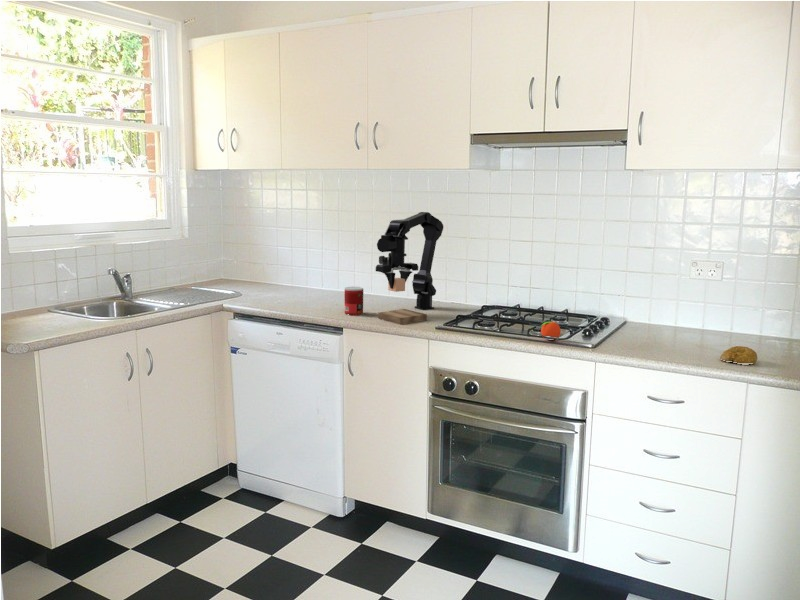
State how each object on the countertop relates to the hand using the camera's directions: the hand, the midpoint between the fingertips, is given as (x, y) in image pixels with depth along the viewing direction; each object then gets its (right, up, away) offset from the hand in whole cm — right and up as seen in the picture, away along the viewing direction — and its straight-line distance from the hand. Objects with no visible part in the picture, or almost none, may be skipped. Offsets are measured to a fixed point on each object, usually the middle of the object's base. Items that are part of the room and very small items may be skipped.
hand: (396, 288), depth 280 cm
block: (0, -1, 0) cm, 1 cm away
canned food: (-18, -11, +3) cm, 21 cm away
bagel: (+110, -25, -64) cm, 130 cm away
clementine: (+55, -20, -39) cm, 70 cm away
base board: (+2, -13, -7) cm, 15 cm away
